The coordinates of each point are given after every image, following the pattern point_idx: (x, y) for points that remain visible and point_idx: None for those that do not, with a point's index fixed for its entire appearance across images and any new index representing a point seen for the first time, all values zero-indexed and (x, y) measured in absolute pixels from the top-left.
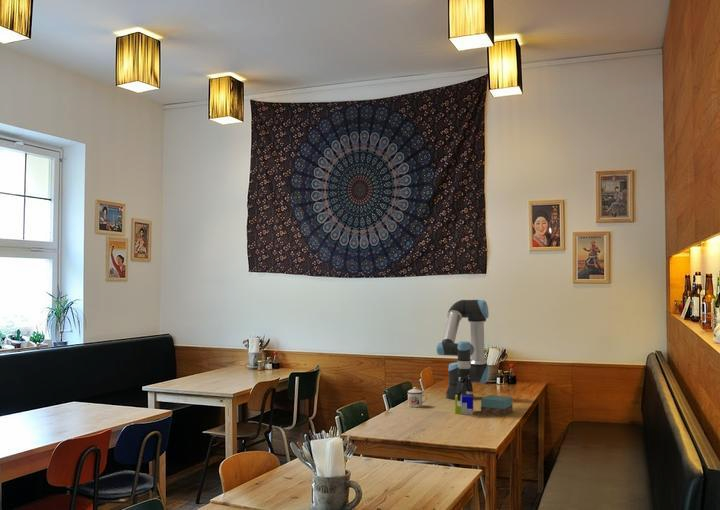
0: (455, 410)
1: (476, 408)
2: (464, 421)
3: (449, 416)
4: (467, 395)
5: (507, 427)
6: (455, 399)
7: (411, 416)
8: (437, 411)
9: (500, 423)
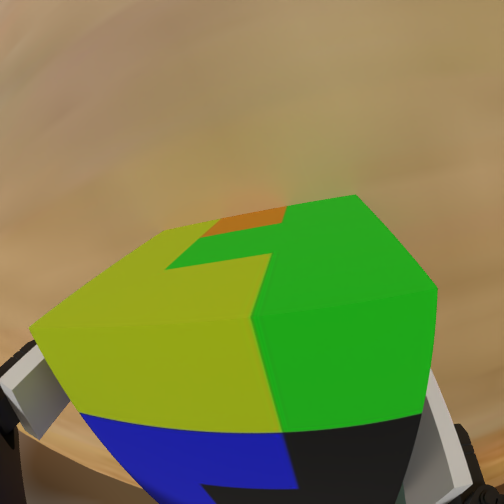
0: (146, 244)
1: (486, 352)
2: (23, 331)
3: (57, 212)
4: (262, 490)
5: (73, 457)
6: (60, 307)
7: (5, 3)
8: (207, 14)
9: (102, 457)
